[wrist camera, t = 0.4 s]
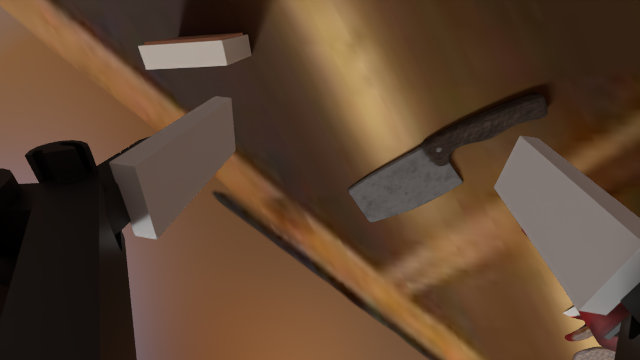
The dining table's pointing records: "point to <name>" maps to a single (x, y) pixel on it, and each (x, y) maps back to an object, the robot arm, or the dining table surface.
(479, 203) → the dining table surface
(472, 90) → the dining table surface
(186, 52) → the tile
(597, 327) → the dark red glass bottle
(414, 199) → the cleaver
